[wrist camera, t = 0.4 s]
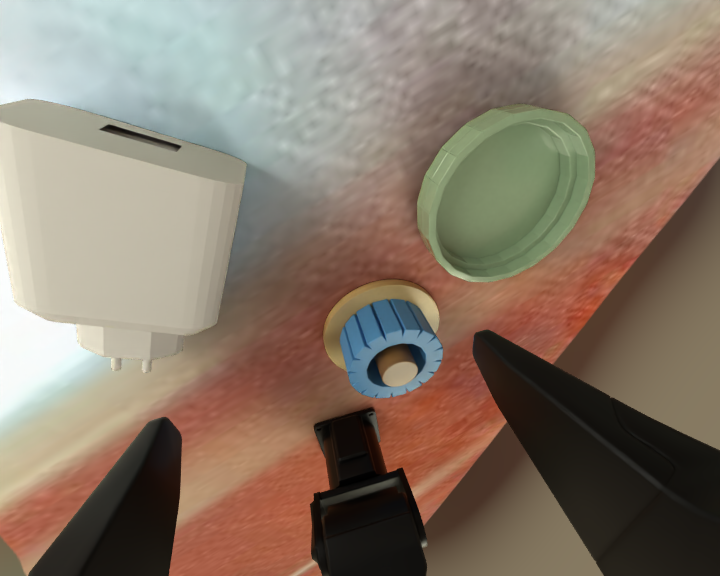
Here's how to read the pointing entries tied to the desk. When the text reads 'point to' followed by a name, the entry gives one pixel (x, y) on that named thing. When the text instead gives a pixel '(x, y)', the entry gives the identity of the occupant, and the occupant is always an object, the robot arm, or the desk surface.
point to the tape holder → (395, 359)
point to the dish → (505, 191)
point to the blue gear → (388, 345)
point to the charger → (115, 228)
